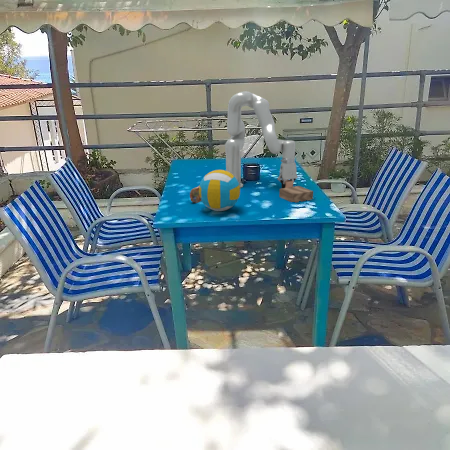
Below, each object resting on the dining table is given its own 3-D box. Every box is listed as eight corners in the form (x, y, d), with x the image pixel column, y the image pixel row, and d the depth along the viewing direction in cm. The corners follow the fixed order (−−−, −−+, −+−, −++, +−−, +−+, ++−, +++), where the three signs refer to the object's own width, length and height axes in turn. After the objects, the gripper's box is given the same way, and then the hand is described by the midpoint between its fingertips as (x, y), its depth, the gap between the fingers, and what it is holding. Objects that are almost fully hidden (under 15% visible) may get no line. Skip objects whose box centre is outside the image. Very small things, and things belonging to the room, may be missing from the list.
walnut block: (292, 202, 236) (293, 194, 234) (279, 196, 248) (279, 188, 246) (312, 199, 242) (313, 191, 240) (298, 193, 254) (299, 185, 252)
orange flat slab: (193, 204, 235) (193, 190, 232) (189, 203, 236) (188, 189, 233) (208, 198, 247) (208, 184, 244) (204, 197, 248) (203, 183, 245)
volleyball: (234, 218, 211) (234, 176, 204) (193, 214, 217) (192, 173, 210) (244, 205, 231) (244, 167, 224) (206, 202, 237) (205, 165, 229)
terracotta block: (286, 191, 259) (286, 182, 257) (281, 189, 264) (281, 180, 261) (292, 190, 261) (293, 181, 259) (288, 188, 266) (288, 179, 264)
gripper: (280, 163, 249) (279, 192, 256) (303, 160, 256) (301, 188, 263) (273, 161, 256) (272, 189, 262) (296, 158, 263) (294, 186, 269)
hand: (287, 188), depth 262 cm, fingers closed on terracotta block, 5 cm apart
